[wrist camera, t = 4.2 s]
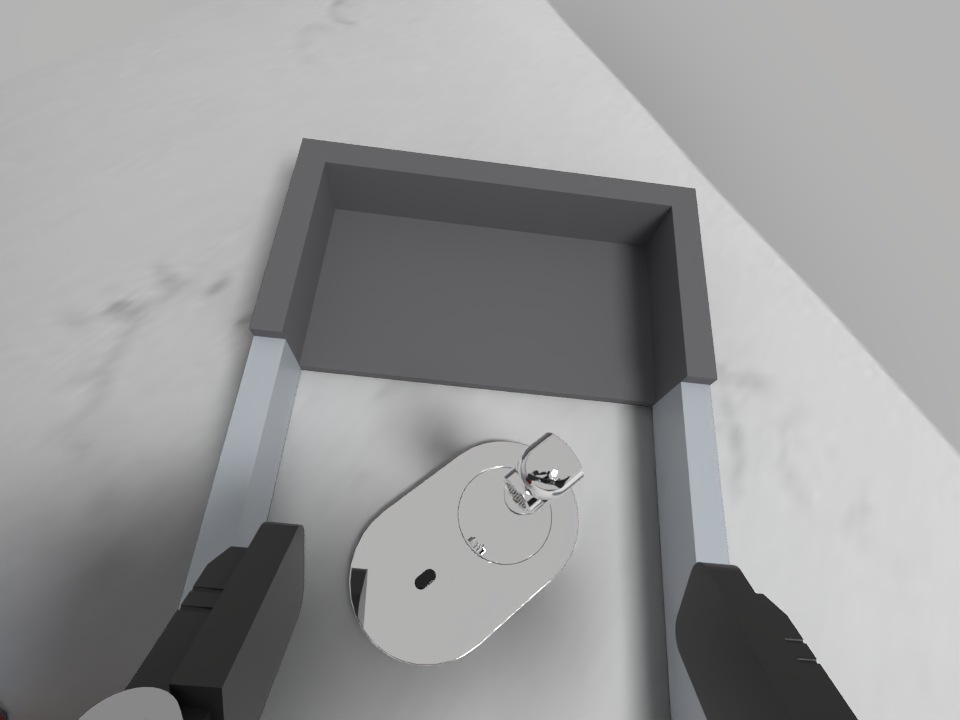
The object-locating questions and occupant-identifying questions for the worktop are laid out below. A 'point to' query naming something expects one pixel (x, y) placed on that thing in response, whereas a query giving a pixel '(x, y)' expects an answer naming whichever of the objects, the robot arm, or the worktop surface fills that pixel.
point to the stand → (466, 549)
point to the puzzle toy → (2, 715)
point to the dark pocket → (487, 276)
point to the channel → (679, 471)
